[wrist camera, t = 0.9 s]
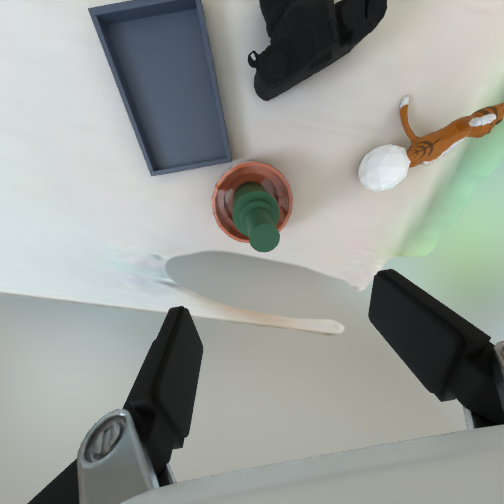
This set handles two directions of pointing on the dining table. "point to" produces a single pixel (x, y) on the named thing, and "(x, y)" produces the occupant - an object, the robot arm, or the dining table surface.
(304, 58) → the film camera
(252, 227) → the bottle
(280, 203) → the bowl
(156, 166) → the tray
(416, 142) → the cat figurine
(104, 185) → the dining table surface
